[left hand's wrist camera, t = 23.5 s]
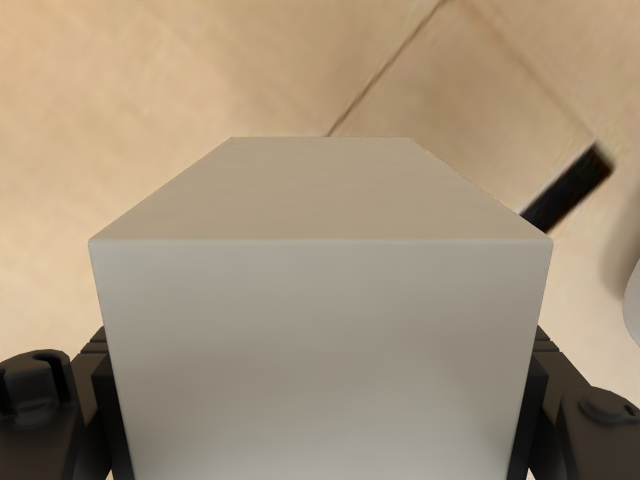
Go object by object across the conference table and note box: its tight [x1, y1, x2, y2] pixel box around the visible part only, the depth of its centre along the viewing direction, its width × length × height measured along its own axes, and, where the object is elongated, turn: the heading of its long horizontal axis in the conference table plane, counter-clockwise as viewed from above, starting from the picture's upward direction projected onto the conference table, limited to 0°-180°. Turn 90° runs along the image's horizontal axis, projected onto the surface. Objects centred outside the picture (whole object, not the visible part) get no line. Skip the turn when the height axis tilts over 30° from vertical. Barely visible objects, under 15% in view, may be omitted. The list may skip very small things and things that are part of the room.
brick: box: [88, 137, 553, 480], centre depth 12 cm, size 6×8×10 cm
